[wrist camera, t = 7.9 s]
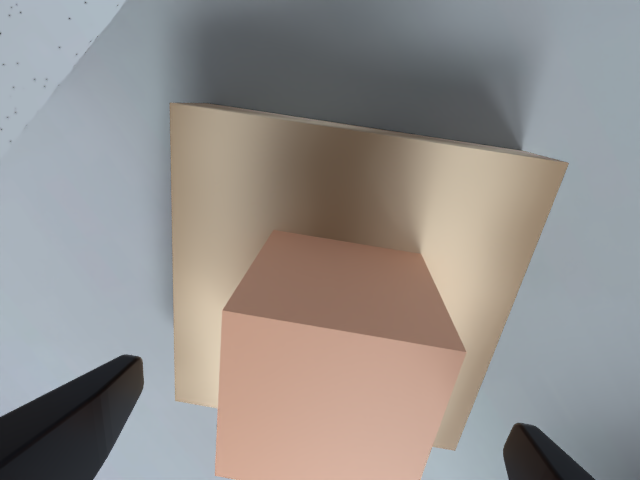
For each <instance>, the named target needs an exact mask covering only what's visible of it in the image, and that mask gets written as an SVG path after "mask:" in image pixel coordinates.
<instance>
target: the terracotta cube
mask: <svg viewBox="0 0 640 480" xmlns="http://www.w3.org/2000/svg"><path fill="white" fill-rule="evenodd" d="M466 353H467V352H466V350H465V347H464V345H463V343H462V341H461V339H460V337H459V335H458V332H457V330H456V328H455V326H454V324H453V322H452V319H451V317H450V315H449V313H448V311H447V309H446V306H445V304H444V302H443V300H442V298H441V296H440V293H439V291H438V289H437V287H436V285H435V283H434V280H433V278H432V276H431V274H430V272H429V270H428V268H427V265H426V263H425V261H424V259H423V257H422V255H421V254H419V253H412V252H406V251H400V250H394V249H388V248H382V247H376V246H370V245H363V244H357V243H351V242H345V241H339V240H333V239H327V238H321V237H314V236H308V235H302V234H296V233H290V232H284V231H278V230H273V231H272V233H271V235H270V236H269V238H268V239H267V241H266V242H265V244H264V246H263V247H262V249H261V250H260V252H259V253H258V255H257V257H256V258H255V260H254V261H253V263H252V264H251V266H250V268H249V269H248V271H247V272H246V274H245V275H244V277H243V279H242V280H241V282H240V283H239V285H238V286H237V288H236V289H235V291H234V293H233V294H232V296H231V297H230V299H229V300H228V302H227V304H226V305H225V307H224V308H223V310H222V326H221V348H220V371H219V394H218V417H217V439H216V462H215V476H220V477H225V478H231V479H236V480H420V479H421V477H422V474H423V471H424V468H425V465H426V463H427V460H428V457H429V454H430V452H431V449H432V446H433V443H434V441H435V438H436V435H437V432H438V430H439V427H440V424H441V421H442V419H443V416H444V413H445V410H446V408H447V405H448V402H449V399H450V397H451V394H452V391H453V388H454V386H455V383H456V380H457V377H458V375H459V372H460V369H461V366H462V364H463V361H464V358H465V355H466Z"/></svg>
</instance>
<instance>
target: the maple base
mask: <svg viewBox="0 0 640 480" xmlns="http://www.w3.org/2000/svg"><path fill="white" fill-rule="evenodd" d="M170 145H171V200H172V254H173V309H174V364H175V401H179V402H185V403H190V404H196V405H202V406H207V407H213V408H218V394H219V371H220V348H221V326H222V310H223V308H224V307H225V305H226V304H227V302H228V300H229V299H230V297H231V296H232V294H233V293H234V291H235V289H236V288H237V286H238V285H239V283H240V282H241V280H242V279H243V277H244V275H245V274H246V272H247V271H248V269H249V268H250V266H251V264H252V263H253V261H254V260H255V258H256V257H257V255H258V253H259V252H260V250H261V249H262V247H263V246H264V244H265V242H266V241H267V239H268V238H269V236H270V235H271V233H272V231H273V230H278V231H284V232H290V233H296V234H302V235H308V236H314V237H321V238H327V239H333V240H339V241H345V242H351V243H357V244H363V245H370V246H376V247H382V248H388V249H394V250H400V251H406V252H412V253H419V254H421V255H422V257H423V259H424V261H425V263H426V265H427V268H428V270H429V272H430V274H431V276H432V278H433V280H434V283H435V285H436V287H437V289H438V291H439V293H440V296H441V298H442V300H443V302H444V304H445V306H446V309H447V311H448V313H449V315H450V317H451V319H452V322H453V324H454V326H455V328H456V330H457V332H458V335H459V337H460V339H461V341H462V343H463V345H464V347H465V350H466V352H467V353H466V355H465V358H464V361H463V364H462V366H461V369H460V372H459V375H458V377H457V380H456V383H455V386H454V388H453V391H452V394H451V397H450V399H449V402H448V405H447V408H446V410H445V413H444V416H443V419H442V421H441V424H440V427H439V430H438V432H437V435H436V438H435V441H434V443H433V446H432V447H438V448H443V449H449V450H454V451H455V449H456V447H457V444H458V442H459V439H460V437H461V434H462V432H463V429H464V427H465V424H466V422H467V419H468V417H469V414H470V412H471V409H472V407H473V404H474V402H475V399H476V396H477V394H478V391H479V389H480V386H481V384H482V381H483V379H484V376H485V374H486V371H487V369H488V366H489V364H490V361H491V359H492V356H493V354H494V351H495V348H496V346H497V343H498V341H499V338H500V336H501V333H502V331H503V328H504V326H505V323H506V321H507V318H508V316H509V313H510V311H511V308H512V306H513V303H514V301H515V298H516V295H517V293H518V290H519V288H520V285H521V283H522V280H523V278H524V275H525V273H526V270H527V268H528V265H529V263H530V260H531V258H532V255H533V253H534V250H535V247H536V245H537V242H538V240H539V237H540V235H541V232H542V230H543V227H544V225H545V222H546V220H547V217H548V215H549V212H550V210H551V207H552V205H553V202H554V199H555V197H556V194H557V192H558V189H559V187H560V184H561V182H562V179H563V177H564V174H565V172H566V169H567V167H568V164H569V163H567V162H563V161H560V160H556V159H552V158H548V157H544V156H541V155H537V154H533V153H529V152H526V151H521V150H514V149H508V148H501V147H495V146H488V145H481V144H475V143H468V142H461V141H455V140H448V139H441V138H435V137H428V136H421V135H415V134H408V133H402V132H395V131H388V130H382V129H375V128H368V127H362V126H355V125H348V124H342V123H335V122H329V121H322V120H315V119H309V118H302V117H295V116H289V115H282V114H275V113H269V112H262V111H255V110H249V109H242V108H236V107H229V106H222V105H216V104H209V103H170Z"/></svg>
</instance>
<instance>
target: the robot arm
mask: <svg viewBox="0 0 640 480" xmlns="http://www.w3.org/2000/svg"><path fill="white" fill-rule="evenodd" d="M143 385H144V376H143V362H142V359H141V357H138V356H133V355H127V354H125V355H121V356H119V357H117V358H115V359H113V360H111V361H109V362H107V363H105V364H103V365H101V366H100V367H98V368H96V369H94V370H92V371H90V372H88V373H86V374H84V375H82V376H80V377H78V378H76V379H74V380H72V381H70V382H68V383H66V384H64V385H62V386H60V387H58V388H56V389H54V390H52V391H50V392H49V393H47V394H45V395H43V396H41V397H39V398H37V399H35V400H33V401H31V402H29V403H27V404H25V405H23V406H21V407H19V408H17V409H15V410H13V411H11V412H9V413H7V414H5V415H3V416H1V417H0V480H93V479H94V478H95V476H96V474H97V473H98V471H99V470H100V468H101V467H102V465H103V463H104V462H105V460H106V459H107V457H108V455H109V453H110V452H111V450H112V448H113V446H114V444H115V442H116V440H117V439H118V437H119V435H120V433H121V431H122V429H123V427H124V425H125V423H126V421H127V419H128V417H129V416H130V414H131V412H132V410H133V408H134V406H135V404H136V402H137V400H138V398H139V396H140V394H141V392H142V390H143ZM503 457H504V462H505V466H506V470H507V474H508V478H509V480H595V479H594V478H593V477H592V476H591V475H590V474H589V473H587V472H586V471H585V470H584V469H583V468H582V467H581V466H580V465H579V464H577V463H576V462H575V461H574V460H573V459H572V458H571V457H570V456H569V455H567V454H566V453H565V452H564V451H563V450H562V449H561V448H560V447H559V446H557V445H556V444H555V443H554V442H553V441H552V440H551V439H550V438H549V437H548V436H546V435H545V434H544V433H543V432H542V431H541V430H540V429H539V428H537V427H536V426H534V425H529V424H524V423H516V424H515V425H514V426H513V428H512V430H511V432H510V434H509V436H508V439H507V441H506V443H505V445H504V449H503Z"/></svg>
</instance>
